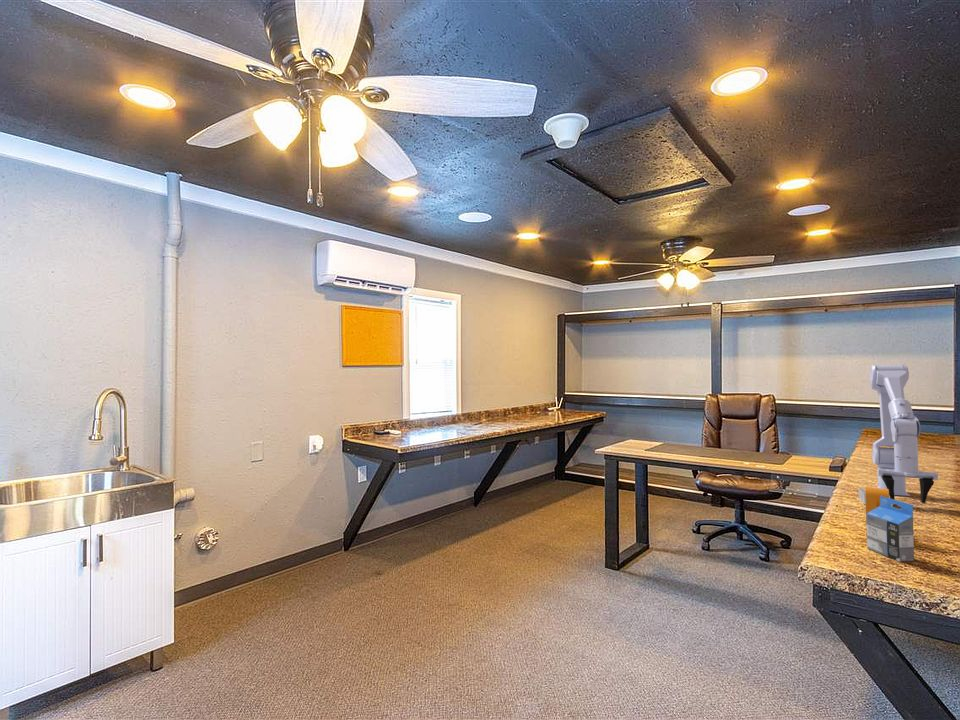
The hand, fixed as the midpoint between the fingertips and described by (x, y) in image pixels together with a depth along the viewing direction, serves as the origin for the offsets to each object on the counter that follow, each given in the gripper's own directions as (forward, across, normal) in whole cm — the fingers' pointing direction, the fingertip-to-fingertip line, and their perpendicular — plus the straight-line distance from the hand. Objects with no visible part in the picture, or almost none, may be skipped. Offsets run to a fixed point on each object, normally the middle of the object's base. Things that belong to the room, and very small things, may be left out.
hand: (907, 501), depth 160 cm
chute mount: (+1, -8, 0) cm, 8 cm away
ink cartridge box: (+2, -15, -57) cm, 59 cm away
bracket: (+2, -13, -41) cm, 43 cm away
